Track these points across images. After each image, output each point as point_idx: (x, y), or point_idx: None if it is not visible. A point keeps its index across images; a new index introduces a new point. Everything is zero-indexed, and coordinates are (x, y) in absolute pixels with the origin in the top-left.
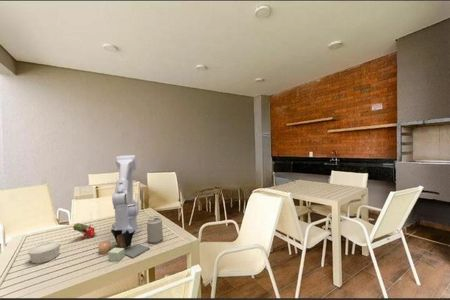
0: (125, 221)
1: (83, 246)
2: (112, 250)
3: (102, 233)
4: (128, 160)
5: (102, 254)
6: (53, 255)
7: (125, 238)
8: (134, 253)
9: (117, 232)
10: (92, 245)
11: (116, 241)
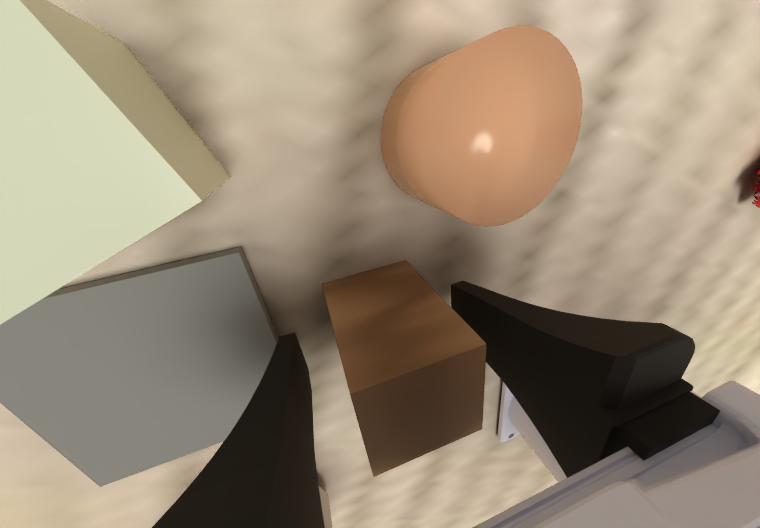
0: None
1: (726, 37)
2: (48, 111)
3: (710, 248)
4: None
5: (403, 82)
6: None
7: (227, 448)
8: (57, 361)
9: (552, 381)
10: (660, 110)
11: (470, 288)
